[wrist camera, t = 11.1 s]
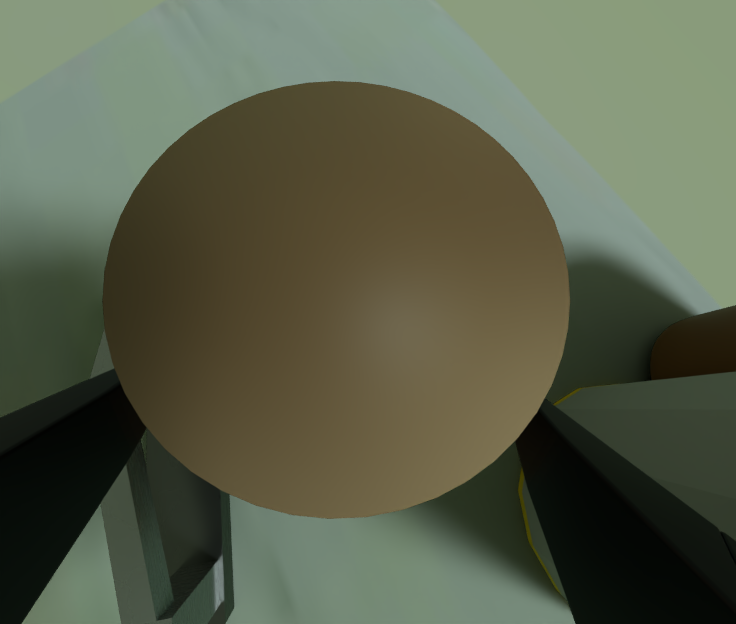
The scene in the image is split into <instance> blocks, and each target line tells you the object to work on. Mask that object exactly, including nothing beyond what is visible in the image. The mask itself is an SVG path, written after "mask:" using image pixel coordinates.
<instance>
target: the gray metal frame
mask: <svg viewBox="0 0 736 624" xmlns="http://www.w3.org/2000/svg"><path fill="white" fill-rule="evenodd" d="M111 369H114V366H113V363H112V359H111V355H110V351H109V347H108V342H107V338H106V334H105V328H104V331H103V335H102V338H101V342H100V345H99V348H98V352H97V355H96V359H95V362H94V365H93V369H92V372H91V376H90V379H91V378H93V377H95V376H97V375H100V374H102V373H104V372H107V371H109V370H111ZM101 508H102V514H103V520H104V526H105V532H106V537H107V543H108V549H109V555H110V561H111V567H112V572H113V578H114V584H115V590H116V596H117V602H118V607H119V613H120V619H121V624H225V623H226V622H227V620H228V618H229V616H230V614H231V612H232V611H233V609H234V592H233V569H232V545H231V521H230V498H229V494H228V493H226V492H223V491H222V490H220V489H218V488H217V487H215V486H214V485H212V484H210V483H209V482H207V481H206V480H204V479H202V478H201V477H199V476H197V475H196V474H194V473H193V472H191V471H190V470H189V469H188V468H187V467H185V466H184V465H183V464H182V463H181V462H180V461H179V460H177V459H176V458H175V457H174V456H173V455H172V454H170V453H169V452H168V451H167V450H166V449H165V448H164V447H163V446H162V445H161V444H160V442H159V441H158V440H157V439H156V438H155V436H154V435H153V434H152V433H151V432H150V431H149V429H148V428H147V454H146V464H145V459H144V454H143V449H142V444H141V440H140V442H139V443H138V445H137V447H136V449H135V451H134V452H133V454H132V456H131V457H130V459H129V460H128V462H127V464H126V465H125V467H124V468H123V470H122V471H121V473H120V474H119V476H118V477H117V479H116V480H115V482H114V483H113V485H112V487H111V488H110V490H109V491H108V493H107V494H106V496H105V497H104V499H103V500H102V502H101Z"/></svg>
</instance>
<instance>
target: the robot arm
mask: <svg viewBox="0 0 736 624" xmlns="http://www.w3.org/2000/svg"><path fill="white" fill-rule="evenodd" d="M146 428H147V427H146V426H145V425H144V424H143V422H142V421H141V419H140V417H139V416H138V414H137V412H136V411H135V409H134V408H133V406H132V404H131V403H130V401H129V399H128V398H127V396H126V394H125V392H124V390H123V388H122V385H121V383H120V380H119V378H118V375H117V373H116V371H115V368H114V369H111V370H109V371H107V372H104V373H102V374H100V375H97V376H95V377H93V378H91V379H88V380H86V381H84V382H81V383H79V384H77V385H74V386H72V387H70V388H67V389H65V390H63V391H61V392H58V393H56V394H54V395H51V396H49V397H47V398H44V399H42V400H40V401H37V402H35V403H33V404H31V405H28V406H26V407H24V408H21V409H19V410H17V411H14V412H12V413H10V414H7V415H5V416H3V417H1V418H0V624H22V622H23V621H24V619H25V618H26V616H27V615H28V613H29V611H30V610H31V608H32V607H33V605H34V604H35V602H36V601H37V599H38V598H39V596H40V595H41V593H42V592H43V590H44V589H45V587H46V586H47V584H48V583H49V581H50V579H51V578H52V576H53V575H54V573H55V572H56V570H57V569H58V567H59V566H60V564H61V563H62V561H63V560H64V558H65V557H66V555H67V554H68V552H69V551H70V549H71V547H72V546H73V544H74V543H75V541H76V540H77V538H78V537H79V535H80V534H81V532H82V531H83V529H84V528H85V526H86V525H87V523H88V522H89V520H90V519H91V517H92V515H93V514H94V512H95V511H96V509H97V508H98V506H99V505H100V503H101V502H102V500H103V499H104V497H105V496H106V494H107V493H108V491H109V490H110V488H111V487H112V485H113V483H114V482H115V480H116V479H117V477H118V476H119V474H120V473H121V471H122V470H123V468H124V467H125V465H126V464H127V462H128V460H129V459H130V457H131V456H132V454H133V452H134V451H135V449H136V447H137V445H138V443H139V442H140V440H141V438H142V436H143V434H144V432H145V430H146ZM515 442H516V446H517V450H518V454H519V458H520V462H521V466H522V470H523V474H524V478H525V482H526V485H527V488H528V491H529V494H530V497H531V500H532V503H533V506H534V509H535V512H536V514H537V517H538V520H539V523H540V526H541V528H542V531H543V534H544V537H545V540H546V542H547V545H548V548H549V551H550V554H551V556H552V559H553V562H554V565H555V568H556V570H557V573H558V576H559V579H560V582H561V584H562V587H563V590H564V593H565V596H566V598H567V601H568V604H569V607H570V610H571V612H572V615H573V618H574V621H575V624H736V541H735V540H734V539H733V538H731V537H730V536H729V535H727V534H726V533H725V532H722V531H719V529H718V527H716V526H715V525H714V524H712V523H711V522H710V521H708V520H707V519H706V518H704V517H703V516H702V515H700V514H699V513H698V512H696V511H695V510H694V509H692V508H691V507H690V506H688V505H687V504H686V503H684V502H683V501H682V500H680V499H679V498H678V497H676V496H675V495H674V494H672V493H671V492H670V491H668V490H667V489H666V488H664V487H663V486H662V485H660V484H659V483H658V482H656V481H655V480H654V479H652V478H651V477H650V476H648V475H647V474H646V473H644V472H643V471H642V470H640V469H639V468H637V467H636V466H635V465H633V464H632V463H631V462H629V461H628V460H627V459H625V458H624V457H623V456H621V455H620V454H619V453H617V452H616V451H615V450H613V449H612V448H611V447H609V446H608V445H607V444H605V443H604V442H603V441H601V440H600V439H599V438H597V437H596V436H595V435H593V434H592V433H591V432H589V431H588V430H587V429H585V428H584V427H583V426H581V425H580V424H579V423H577V422H576V421H575V420H573V419H572V418H571V417H569V416H568V415H567V414H565V413H564V412H563V411H561V410H560V409H559V408H557V407H556V406H555V405H553V404H552V403H551V402H549V401H548V400H547V399H545V398H544V400H543V402H542V404H541V406H540V408H539V410H538V411H537V413H536V414H535V416H534V417H533V418H532V420H531V421H530V422H529V424H528V425H527V426H526V428H525V429H524V430H523V432H522V433H521V434H520V436H519V437H518V438H517V439H516V440H515Z"/></svg>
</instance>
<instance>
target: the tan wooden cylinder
mask: <svg viewBox="0 0 736 624" xmlns="http://www.w3.org/2000/svg"><path fill="white" fill-rule="evenodd" d="M102 302H103V314H104V326H105V334H106V338H107V342H108V347H109V351H110V355H111V359H112V363H113V366H114V368H115V371H116V373H117V375H118V378H119V380H120V383H121V385H122V388H123V390H124V392H125V394H126V396H127V398H128V399H129V401H130V403H131V404H132V406H133V408H134V409H135V411H136V412H137V414H138V416H139V417H140V419H141V421H142V422H143V424H144V425H145V426H146V427H147V428H148V429H149V431H150V432H151V433H152V434H153V435H154V436H155V438H156V439H157V440H158V441H159V442H160V444H161V445H162V446H163V447H164V448H165V449H166V450H167V451H168V452H169V453H170V454H172V455H173V456H174V457H175V458H176V459H177V460H179V461H180V462H181V463H182V464H183V465H184V466H185V467H187V468H188V469H189V470H190V471H191V472H193V473H194V474H196V475H197V476H199V477H201V478H202V479H204V480H206V481H207V482H209V483H210V484H212V485H214V486H215V487H217V488H218V489H220V490H222V491H223V492H226V493H228V494H230V495H233V496H235V497H237V498H240V499H242V500H244V501H247V502H249V503H251V504H254V505H256V506H260V507H264V508H268V509H272V510H275V511H279V512H283V513H287V514H291V515H299V516H308V517H318V518H327V519H333V518H355V517H369V516H374V515H379V514H384V513H389V512H394V511H399V510H403V509H406V508H409V507H412V506H415V505H417V504H420V503H423V502H426V501H429V500H432V499H434V498H437V497H439V496H441V495H442V494H444V493H446V492H448V491H450V490H452V489H454V488H456V487H458V486H459V485H461V484H463V483H465V482H467V481H468V480H470V479H471V478H472V477H474V476H475V475H476V474H478V473H479V472H480V471H482V470H483V469H485V468H486V467H487V466H489V465H490V464H491V463H493V462H494V461H495V460H496V459H497V458H498V457H499V456H500V455H501V454H502V453H503V452H504V451H505V450H506V449H507V448H508V447H509V446H510V445H511V444H512V443H513V442H514V441H515V440H516V439H517V438H518V437H519V436H520V434H521V433H522V432H523V430H524V429H525V428H526V426H527V425H528V424H529V422H530V421H531V420H532V418H533V417H534V416H535V414H536V413H537V411H538V410H539V408H540V406H541V404H542V402H543V400H544V398H545V397H546V395H547V393H548V391H549V389H550V387H551V386H552V383H553V380H554V378H555V375H556V372H557V369H558V367H559V364H560V361H561V359H562V355H563V350H564V346H565V341H566V336H567V332H568V323H569V309H570V291H569V276H568V269H567V264H566V259H565V254H564V249H563V245H562V242H561V239H560V236H559V233H558V230H557V227H556V224H555V221H554V219H553V217H552V215H551V213H550V211H549V209H548V207H547V205H546V203H545V201H544V199H543V197H542V196H541V194H540V192H539V191H538V189H537V188H536V186H535V185H534V183H533V182H532V180H531V178H530V177H529V176H528V174H527V173H526V172H525V171H524V170H523V168H522V167H521V166H520V165H519V163H518V162H517V161H516V160H515V159H514V157H513V156H512V155H511V154H510V153H509V152H508V151H506V150H505V149H504V148H503V147H502V146H501V145H500V144H499V143H498V142H497V141H496V140H495V139H494V138H493V137H491V136H490V135H489V134H487V133H486V132H485V131H484V130H482V129H481V128H480V127H478V126H477V125H476V124H474V123H473V122H471V121H469V120H468V119H466V118H465V117H463V116H461V115H460V114H458V113H456V112H455V111H453V110H451V109H449V108H447V107H445V106H443V105H440V104H438V103H436V102H434V101H432V100H429V99H427V98H424V97H421V96H418V95H416V94H413V93H410V92H407V91H403V90H399V89H395V88H391V87H387V86H382V85H375V84H368V83H361V82H340V81H330V82H313V83H304V84H298V85H292V86H286V87H281V88H277V89H274V90H270V91H266V92H263V93H259V94H256V95H254V96H251V97H249V98H246V99H244V100H241V101H238V102H236V103H234V104H232V105H230V106H228V107H226V108H224V109H222V110H220V111H218V112H216V113H214V114H212V115H211V116H209V117H208V118H206V119H205V120H203V121H202V122H200V123H199V124H197V125H196V126H194V127H193V128H191V129H190V130H188V131H187V132H186V133H185V134H184V135H183V136H181V137H180V138H179V139H178V140H177V141H176V142H174V143H173V144H172V145H171V146H170V147H169V148H168V149H167V150H166V151H165V152H164V153H163V154H162V155H161V156H160V157H159V159H158V160H157V161H156V162H155V163H154V164H153V165H152V166H151V167H150V168H149V170H148V171H147V173H146V174H145V176H144V177H143V178H142V180H141V181H140V183H139V184H138V185H137V187H136V188H135V190H134V191H133V193H132V195H131V197H130V199H129V201H128V202H127V204H126V206H125V208H124V210H123V212H122V214H121V216H120V219H119V221H118V224H117V227H116V229H115V232H114V235H113V238H112V240H111V243H110V248H109V253H108V257H107V262H106V267H105V271H104V286H103V301H102Z"/></svg>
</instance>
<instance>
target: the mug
mask: <svg viewBox="0 0 736 624" xmlns="http://www.w3.org/2000/svg"><path fill="white" fill-rule="evenodd" d="M650 372H651V379H652V380H662V379H671V378H680V377H690V376H699V375H709V374H718V373H727V372H736V305H735V306H731V307H727V308H723V309H719V310H715V311H711V312H707V313H704V314H700V315H696V316H693V317H690V318H687V319H684V320H681V321H679V322H677V323H675V324H673V325H671V326H669V327H668V328H667V329H666V330H665V331H663V333H662V334H661V335H660V336H659V337H658V339H657V340H656V342H655V344H654V346H653V349H652V353H651V358H650Z"/></svg>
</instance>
